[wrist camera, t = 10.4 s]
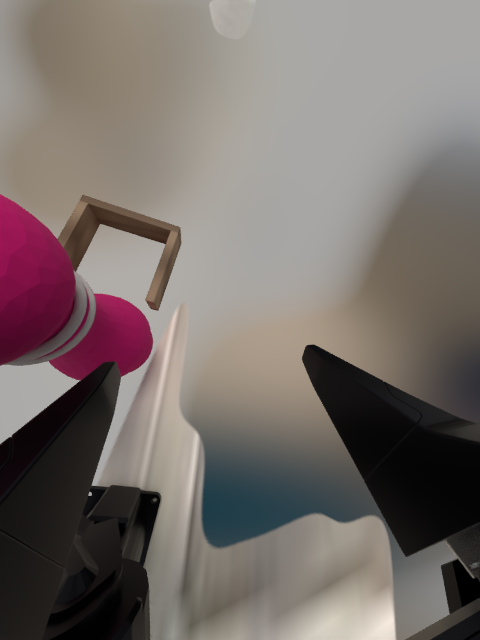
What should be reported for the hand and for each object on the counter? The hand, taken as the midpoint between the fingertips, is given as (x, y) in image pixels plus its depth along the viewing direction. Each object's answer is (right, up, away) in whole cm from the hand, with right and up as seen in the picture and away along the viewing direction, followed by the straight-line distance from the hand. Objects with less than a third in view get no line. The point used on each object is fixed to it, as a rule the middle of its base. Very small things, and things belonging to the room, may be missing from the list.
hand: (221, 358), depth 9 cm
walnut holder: (-13, +8, +14) cm, 20 cm away
